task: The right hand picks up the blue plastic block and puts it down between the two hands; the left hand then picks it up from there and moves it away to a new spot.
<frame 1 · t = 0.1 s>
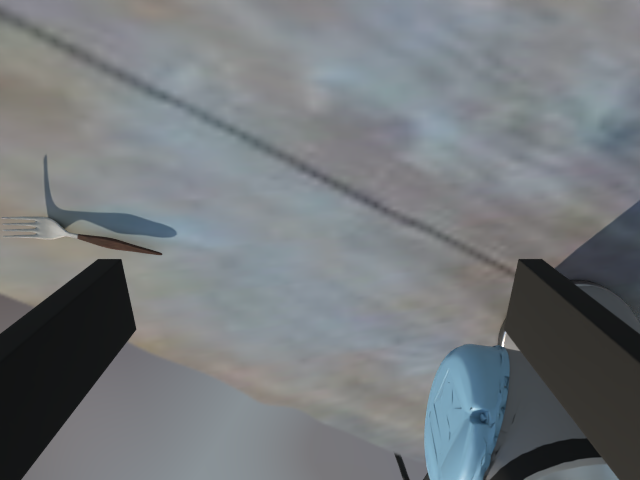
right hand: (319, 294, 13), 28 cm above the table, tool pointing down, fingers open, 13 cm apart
fork: (92, 236, 42), on the table
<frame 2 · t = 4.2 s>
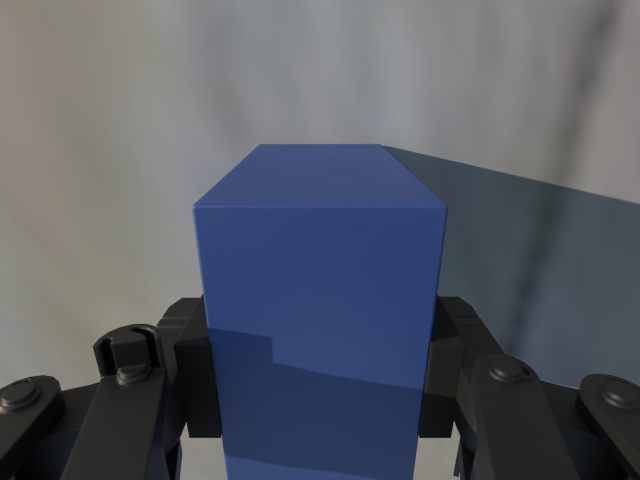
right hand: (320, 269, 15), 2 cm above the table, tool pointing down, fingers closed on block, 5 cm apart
block: (320, 247, 17), on the table, touching right hand
when the right hand's fingers open (3 cm above the table, at t = 12.1 s): block drops 1 cm, on the table.
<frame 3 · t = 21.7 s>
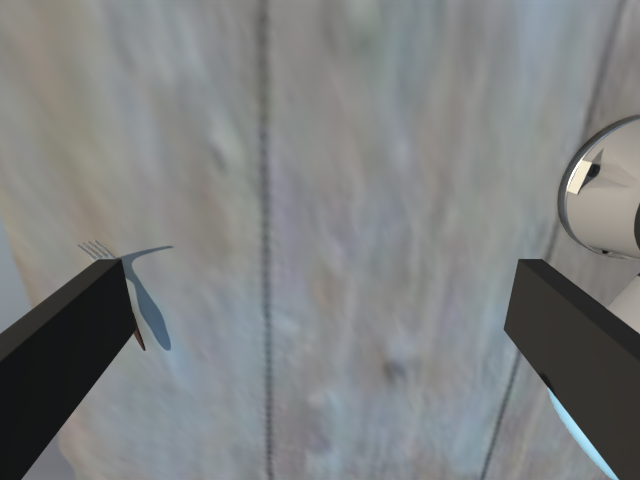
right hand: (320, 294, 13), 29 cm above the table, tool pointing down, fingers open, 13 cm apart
fork: (123, 294, 46), on the table
when the left hand's fingers open (3 cm above the table, at t = 25.3 s): block drops 1 cm, on the table.
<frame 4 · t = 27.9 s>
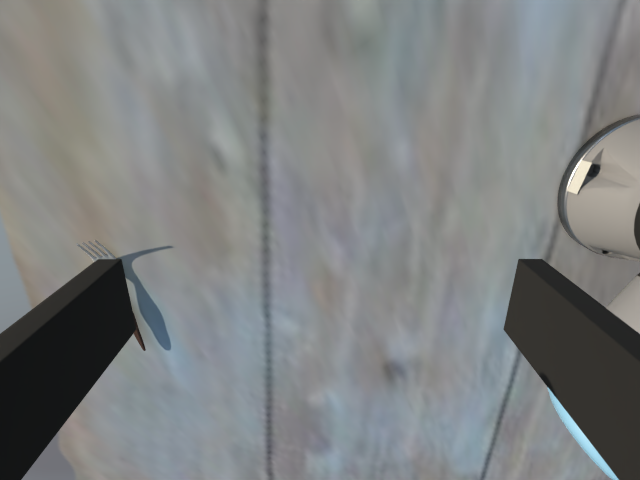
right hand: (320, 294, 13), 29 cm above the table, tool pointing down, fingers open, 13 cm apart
fork: (123, 294, 46), on the table
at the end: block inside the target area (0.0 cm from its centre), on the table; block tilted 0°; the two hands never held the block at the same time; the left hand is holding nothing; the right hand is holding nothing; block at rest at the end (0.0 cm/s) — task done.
